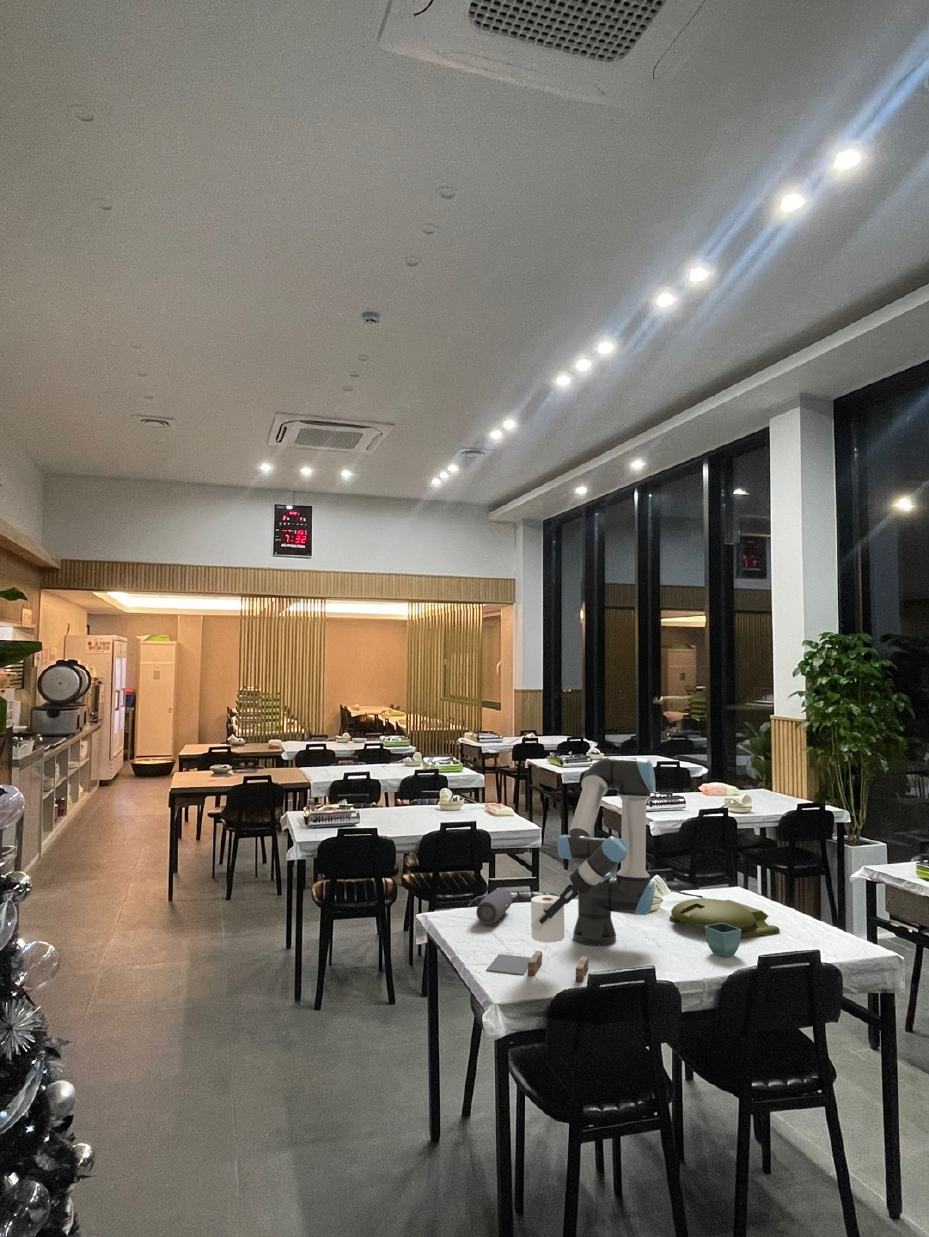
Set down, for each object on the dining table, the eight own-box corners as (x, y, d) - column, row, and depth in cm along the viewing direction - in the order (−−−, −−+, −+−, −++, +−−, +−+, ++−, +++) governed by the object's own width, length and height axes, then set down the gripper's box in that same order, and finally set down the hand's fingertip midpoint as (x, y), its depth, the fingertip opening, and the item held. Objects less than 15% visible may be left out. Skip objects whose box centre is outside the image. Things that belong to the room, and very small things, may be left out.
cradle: (536, 963, 265) (536, 950, 265) (588, 969, 260) (588, 956, 260) (527, 975, 253) (527, 962, 254) (582, 982, 248) (582, 968, 249)
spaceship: (723, 912, 329) (723, 887, 330) (783, 933, 302) (782, 906, 303) (654, 922, 314) (654, 896, 315) (710, 945, 287) (710, 917, 287)
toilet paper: (559, 932, 264) (558, 893, 265) (568, 941, 253) (567, 902, 255) (528, 933, 262) (528, 895, 263) (536, 943, 252) (535, 903, 253)
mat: (499, 955, 273) (499, 953, 273) (534, 958, 269) (534, 957, 269) (486, 970, 257) (486, 969, 258) (523, 975, 254) (523, 973, 254)
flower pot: (723, 960, 270) (723, 932, 271) (704, 952, 278) (703, 925, 279) (742, 956, 274) (742, 929, 275) (722, 948, 282) (722, 922, 283)
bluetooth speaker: (498, 928, 302) (498, 901, 303) (474, 926, 305) (475, 899, 306) (513, 912, 324) (514, 887, 325) (491, 910, 327) (491, 885, 328)
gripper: (587, 895, 243) (537, 943, 247) (601, 878, 265) (555, 923, 269) (569, 875, 246) (520, 924, 250) (585, 860, 267) (540, 905, 271)
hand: (538, 923), depth 259 cm, fingers closed on toilet paper, 10 cm apart
